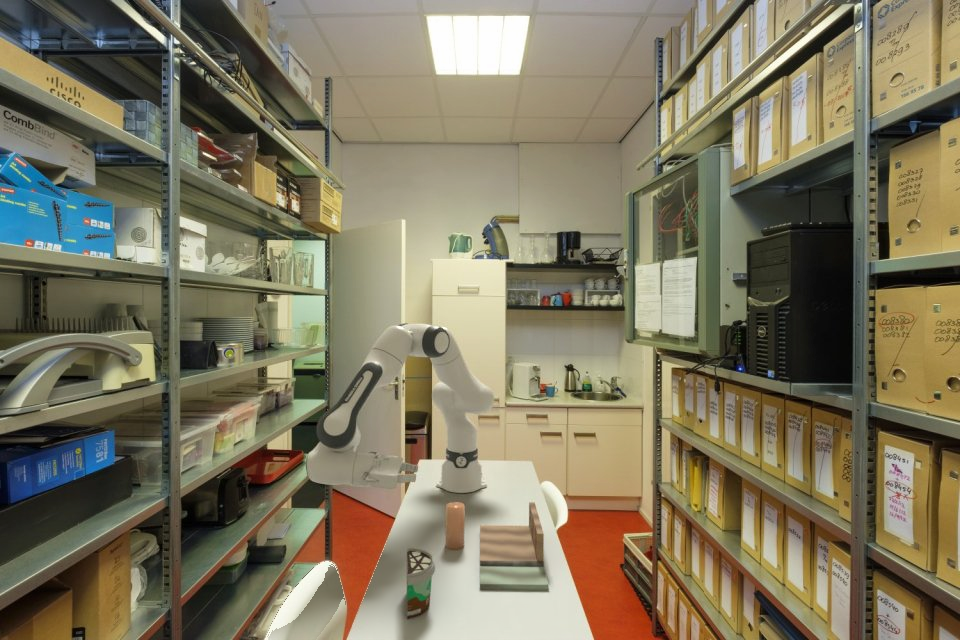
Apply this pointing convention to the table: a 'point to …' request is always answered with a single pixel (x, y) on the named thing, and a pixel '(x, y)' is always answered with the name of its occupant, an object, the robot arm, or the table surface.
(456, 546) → the peach cylinder
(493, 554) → the brown wooden l-shaped board
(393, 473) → the robot arm
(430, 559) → the food container
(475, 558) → the table surface
